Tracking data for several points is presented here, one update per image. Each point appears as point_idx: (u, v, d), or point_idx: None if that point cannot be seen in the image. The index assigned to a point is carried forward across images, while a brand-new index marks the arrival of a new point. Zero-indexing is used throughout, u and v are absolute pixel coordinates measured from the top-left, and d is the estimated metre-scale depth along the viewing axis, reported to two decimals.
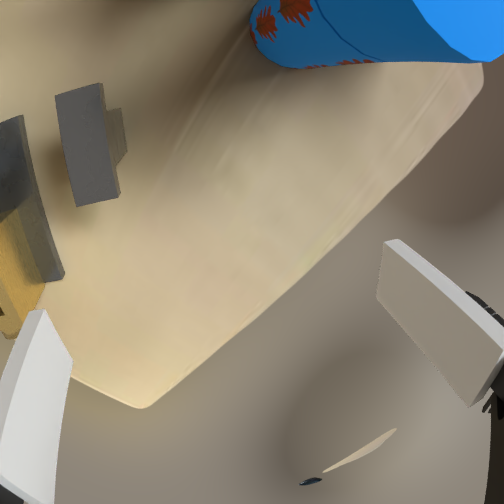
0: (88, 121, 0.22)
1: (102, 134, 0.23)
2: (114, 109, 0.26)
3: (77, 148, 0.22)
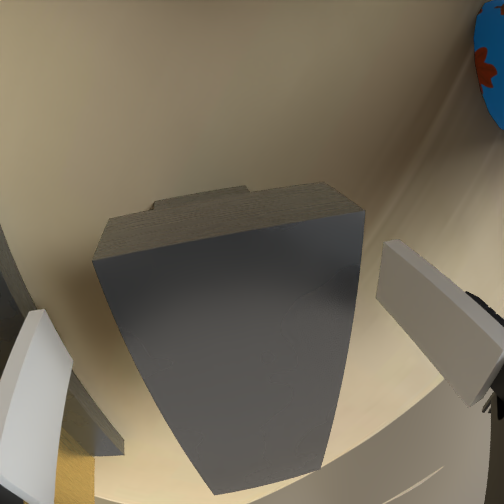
0: (286, 367, 0.06)
1: (328, 391, 0.07)
2: None
3: (231, 430, 0.07)
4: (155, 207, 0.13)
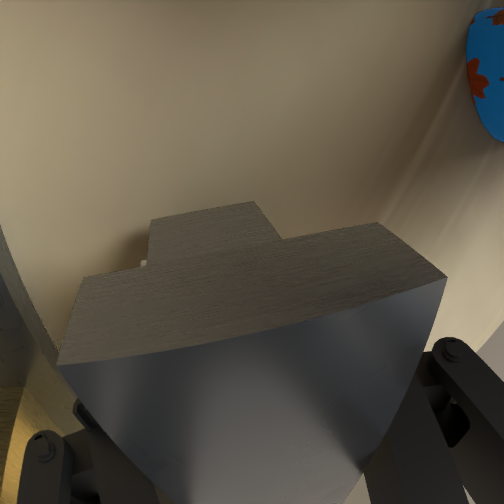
0: (320, 450, 0.04)
1: (361, 459, 0.05)
2: None
3: (249, 502, 0.05)
4: (151, 227, 0.11)
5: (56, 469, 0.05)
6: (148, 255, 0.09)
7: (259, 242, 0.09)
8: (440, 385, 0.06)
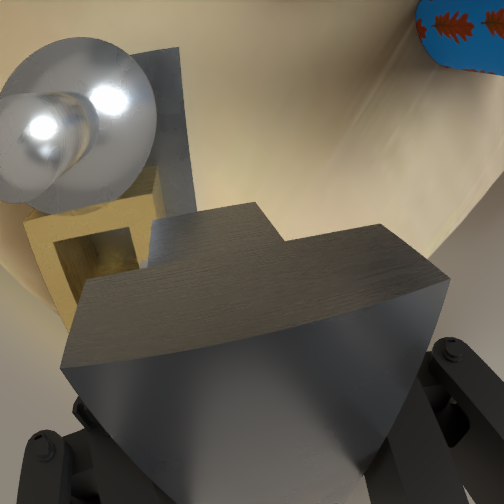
0: (323, 451, 0.04)
1: (363, 459, 0.05)
2: None
3: (250, 503, 0.05)
4: (152, 228, 0.11)
5: (56, 469, 0.05)
6: (150, 255, 0.09)
7: (261, 243, 0.09)
8: (440, 385, 0.06)
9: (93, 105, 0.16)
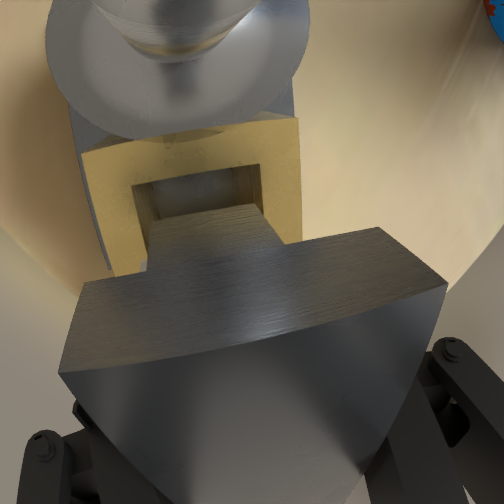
0: (321, 454, 0.04)
1: (361, 461, 0.05)
2: None
3: None
4: (152, 229, 0.11)
5: (56, 469, 0.05)
6: (149, 257, 0.09)
7: (260, 244, 0.09)
8: (440, 385, 0.06)
9: None
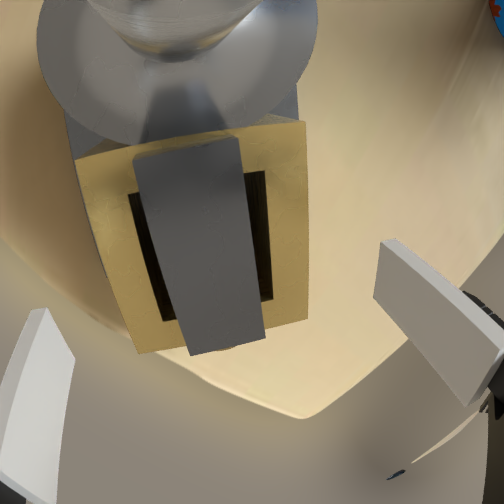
0: (216, 219, 0.13)
1: (245, 244, 0.13)
2: None
3: (192, 269, 0.13)
4: None
5: None
6: None
7: None
8: None
9: None
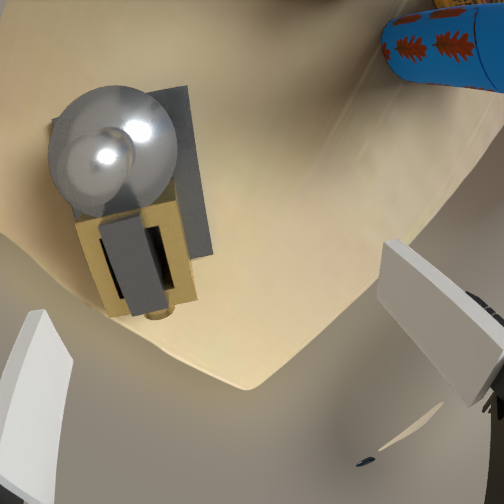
0: (135, 250, 0.28)
1: (149, 260, 0.28)
2: None
3: (128, 272, 0.28)
4: None
5: None
6: None
7: None
8: None
9: (131, 137, 0.24)
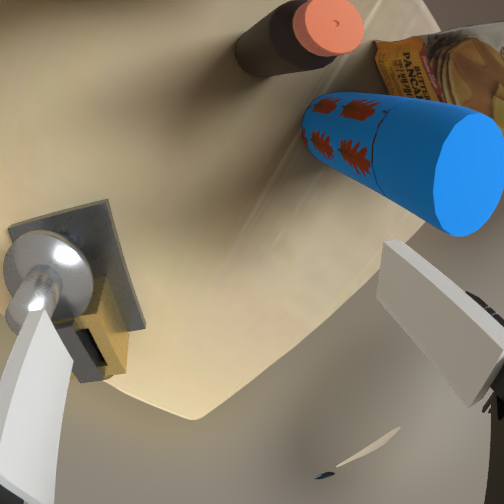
0: (73, 345, 0.34)
1: (84, 352, 0.35)
2: None
3: None
4: None
5: None
6: None
7: None
8: None
9: (57, 272, 0.31)
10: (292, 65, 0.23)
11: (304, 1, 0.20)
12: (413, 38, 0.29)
